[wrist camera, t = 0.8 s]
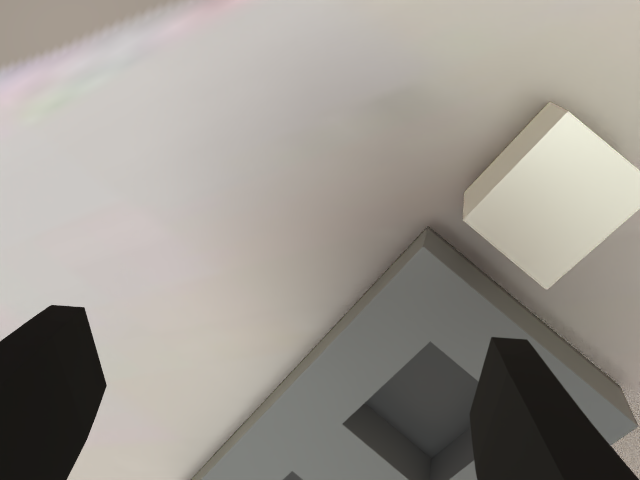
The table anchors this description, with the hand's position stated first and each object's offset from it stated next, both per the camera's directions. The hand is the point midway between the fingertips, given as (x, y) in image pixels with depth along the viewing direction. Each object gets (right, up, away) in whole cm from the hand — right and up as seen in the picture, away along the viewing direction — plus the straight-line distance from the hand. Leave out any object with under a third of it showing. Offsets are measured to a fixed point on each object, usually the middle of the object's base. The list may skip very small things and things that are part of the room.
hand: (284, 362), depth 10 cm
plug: (+10, +5, +14) cm, 18 cm away
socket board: (+3, -9, +21) cm, 23 cm away
